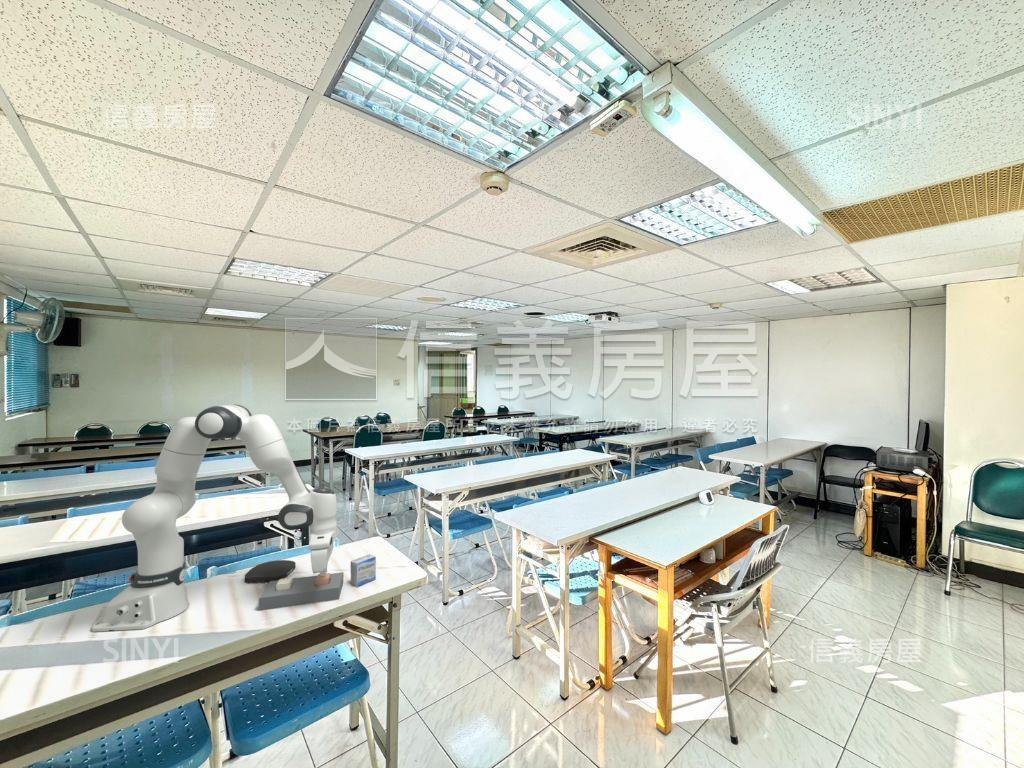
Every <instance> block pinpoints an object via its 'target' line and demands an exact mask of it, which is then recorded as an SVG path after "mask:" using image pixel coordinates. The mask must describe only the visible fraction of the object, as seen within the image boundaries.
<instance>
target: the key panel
mask: <svg viewBox="0 0 1024 768" xmlns="http://www.w3.org/2000/svg"><path fill="white" fill-rule="evenodd" d="M292 578H293V585H292V587H291V589H287V590H280V591H276V584H277V583H278V581H279V580H276V581H270V582H269V583H267V585H266V587H265V588H264V590H263V591H262V593H261V594H260V596H259V597H258V611H261V612H262V611H266V610H273V609H280V608H287V607H288V608H289V607H294V606H295V607H296V606H301V605H302V606H303V605H309V604H316V603H324V602H330V601H338V600H340V596H341V594H342V590H343V586H344V572H342V571H340V572H336V573H335V572H334V573H330V583H329V584H326V585H318V586H316V578H317V575H310V576H309V575H308V576H301V577H292Z"/></svg>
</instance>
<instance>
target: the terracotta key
mask: <svg viewBox="0 0 1024 768" xmlns="http://www.w3.org/2000/svg"><path fill="white" fill-rule="evenodd" d="M330 574H331V573H330V572H328V573H327V572H326V575H325V576H320V573H317V575H316V576H317V578H316V586H318V585H326V584H329V583H330Z"/></svg>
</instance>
